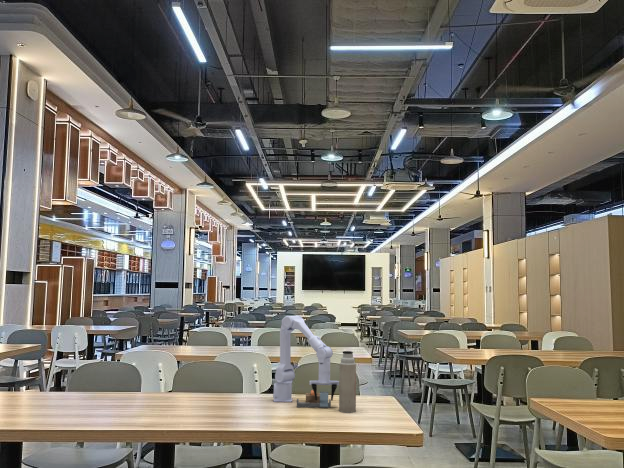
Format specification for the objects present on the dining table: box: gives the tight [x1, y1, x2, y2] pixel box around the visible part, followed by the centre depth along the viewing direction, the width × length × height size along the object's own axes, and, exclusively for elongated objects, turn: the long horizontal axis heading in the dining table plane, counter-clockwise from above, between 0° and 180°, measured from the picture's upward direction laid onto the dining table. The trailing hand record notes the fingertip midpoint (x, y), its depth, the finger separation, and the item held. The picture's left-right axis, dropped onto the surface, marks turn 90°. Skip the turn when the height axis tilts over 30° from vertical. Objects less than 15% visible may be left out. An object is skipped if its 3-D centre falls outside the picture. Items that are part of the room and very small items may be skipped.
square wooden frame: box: [305, 392, 320, 402], centre depth 287 cm, size 8×8×4 cm
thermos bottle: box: [338, 350, 357, 414], centre depth 269 cm, size 8×8×28 cm
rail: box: [296, 398, 332, 409], centre depth 276 cm, size 17×3×4 cm, turn 90°
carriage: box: [319, 391, 329, 407], centre depth 276 cm, size 4×5×6 cm
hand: (323, 400), depth 276 cm, fingers open, 7 cm apart
